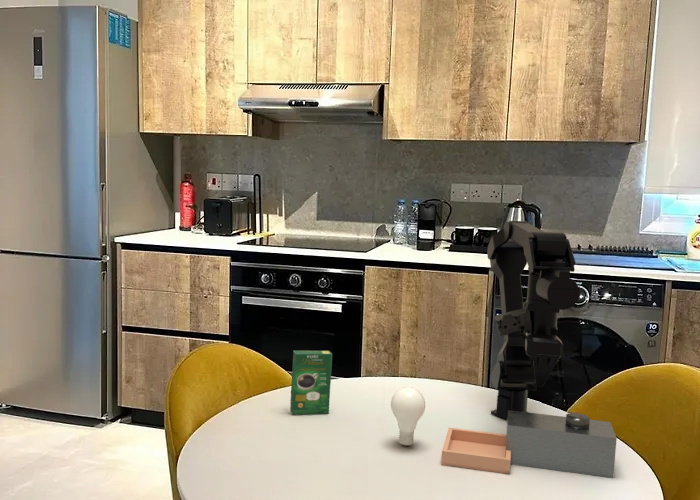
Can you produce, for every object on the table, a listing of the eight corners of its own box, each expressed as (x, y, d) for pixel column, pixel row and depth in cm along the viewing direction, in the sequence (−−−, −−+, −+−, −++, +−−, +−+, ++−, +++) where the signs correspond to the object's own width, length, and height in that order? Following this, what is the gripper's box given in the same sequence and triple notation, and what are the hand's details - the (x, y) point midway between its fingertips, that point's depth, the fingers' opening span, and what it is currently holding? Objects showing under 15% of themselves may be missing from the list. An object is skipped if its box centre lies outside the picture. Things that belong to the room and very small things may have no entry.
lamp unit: (504, 463, 119) (507, 416, 118) (505, 445, 127) (508, 401, 126) (613, 477, 114) (617, 429, 113) (607, 458, 122) (610, 412, 121)
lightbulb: (421, 454, 121) (424, 395, 120) (386, 450, 122) (389, 391, 121) (424, 440, 127) (427, 384, 126) (391, 437, 129) (394, 381, 127)
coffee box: (327, 409, 142) (330, 348, 141) (330, 414, 140) (332, 352, 138) (289, 410, 141) (291, 349, 139) (291, 415, 138) (293, 353, 136)
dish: (448, 440, 128) (448, 427, 128) (510, 448, 125) (511, 435, 125) (441, 464, 117) (442, 450, 117) (509, 474, 114) (510, 460, 114)
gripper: (497, 287, 136) (492, 362, 138) (500, 304, 118) (495, 390, 120) (554, 291, 134) (548, 367, 136) (566, 309, 116) (559, 396, 118)
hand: (536, 379), depth 128 cm, fingers open, 9 cm apart
